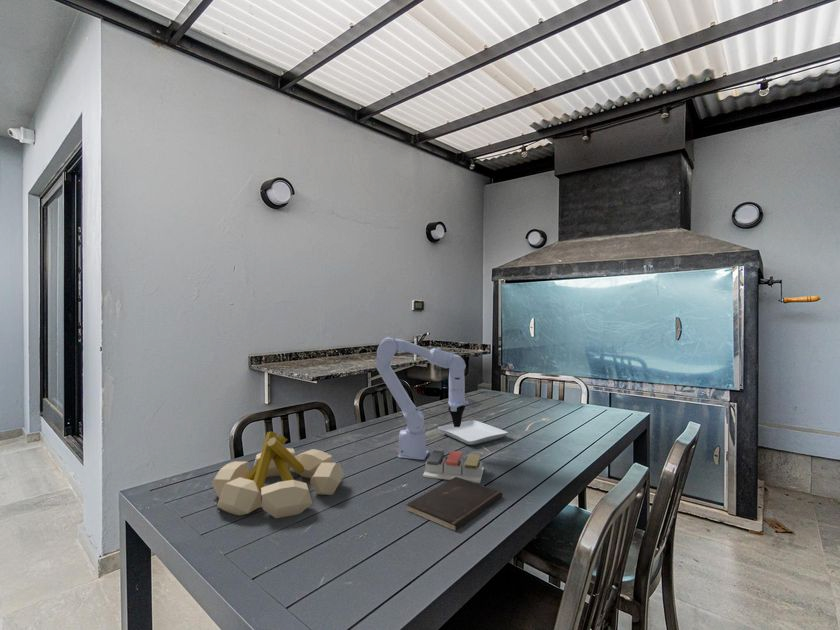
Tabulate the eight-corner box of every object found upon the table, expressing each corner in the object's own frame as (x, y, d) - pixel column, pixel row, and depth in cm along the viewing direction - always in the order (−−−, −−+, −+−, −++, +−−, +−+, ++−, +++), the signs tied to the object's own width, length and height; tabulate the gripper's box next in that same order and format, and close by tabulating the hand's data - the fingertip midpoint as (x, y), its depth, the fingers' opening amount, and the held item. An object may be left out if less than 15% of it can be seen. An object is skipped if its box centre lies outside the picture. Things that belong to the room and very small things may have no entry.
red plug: (445, 474, 130) (445, 461, 130) (451, 462, 140) (451, 450, 140) (456, 475, 129) (456, 462, 129) (461, 463, 139) (461, 451, 139)
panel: (422, 476, 132) (422, 466, 132) (430, 463, 142) (430, 454, 142) (480, 483, 127) (480, 472, 127) (483, 469, 138) (483, 459, 138)
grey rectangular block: (426, 473, 132) (426, 461, 132) (433, 462, 142) (433, 450, 141) (437, 474, 131) (438, 462, 131) (444, 463, 141) (444, 451, 141)
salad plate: (509, 439, 170) (509, 431, 170) (469, 449, 158) (469, 440, 157) (474, 426, 187) (474, 419, 187) (436, 435, 175) (436, 426, 175)
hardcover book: (405, 512, 110) (406, 503, 110) (455, 483, 128) (455, 476, 128) (455, 534, 100) (455, 524, 100) (502, 500, 118) (502, 491, 118)
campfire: (282, 461, 145) (281, 412, 144) (362, 480, 129) (362, 426, 129) (185, 504, 114) (184, 442, 113) (275, 536, 98) (275, 464, 98)
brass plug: (464, 477, 129) (464, 464, 129) (468, 465, 139) (469, 453, 138) (476, 478, 128) (476, 465, 128) (479, 466, 138) (479, 454, 138)
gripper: (464, 393, 142) (465, 433, 142) (470, 385, 156) (470, 421, 157) (444, 392, 144) (444, 431, 144) (451, 384, 158) (452, 420, 158)
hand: (457, 426), depth 150 cm, fingers closed
